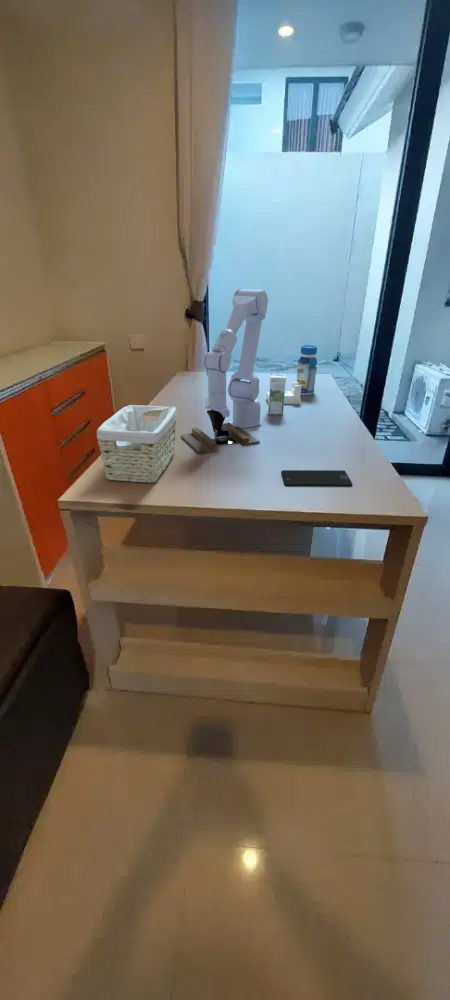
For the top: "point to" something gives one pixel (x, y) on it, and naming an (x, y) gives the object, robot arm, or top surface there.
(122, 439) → the storage basket
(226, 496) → the top surface
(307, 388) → the beverage bottle
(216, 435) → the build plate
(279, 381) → the syrup box
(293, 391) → the bracket
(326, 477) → the cell phone
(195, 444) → the wooden stepped rails
